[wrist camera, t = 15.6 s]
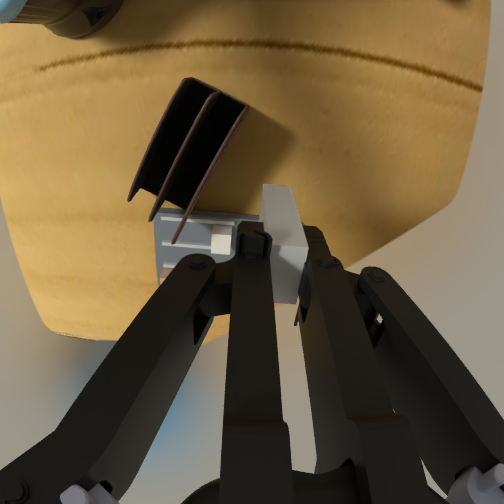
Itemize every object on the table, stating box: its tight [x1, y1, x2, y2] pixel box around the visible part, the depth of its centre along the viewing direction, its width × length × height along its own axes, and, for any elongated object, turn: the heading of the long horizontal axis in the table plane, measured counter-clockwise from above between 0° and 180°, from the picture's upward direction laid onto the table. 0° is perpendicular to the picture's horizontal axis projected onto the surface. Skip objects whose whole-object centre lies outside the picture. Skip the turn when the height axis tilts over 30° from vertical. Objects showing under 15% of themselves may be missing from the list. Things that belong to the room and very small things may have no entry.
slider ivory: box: [211, 225, 232, 255], centre depth 52 cm, size 3×4×3 cm
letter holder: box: [127, 77, 250, 245], centre depth 41 cm, size 10×20×14 cm, turn 150°
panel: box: [154, 208, 259, 285], centre depth 55 cm, size 24×15×4 cm, turn 84°
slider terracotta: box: [160, 267, 173, 284], centre depth 56 cm, size 3×4×3 cm
